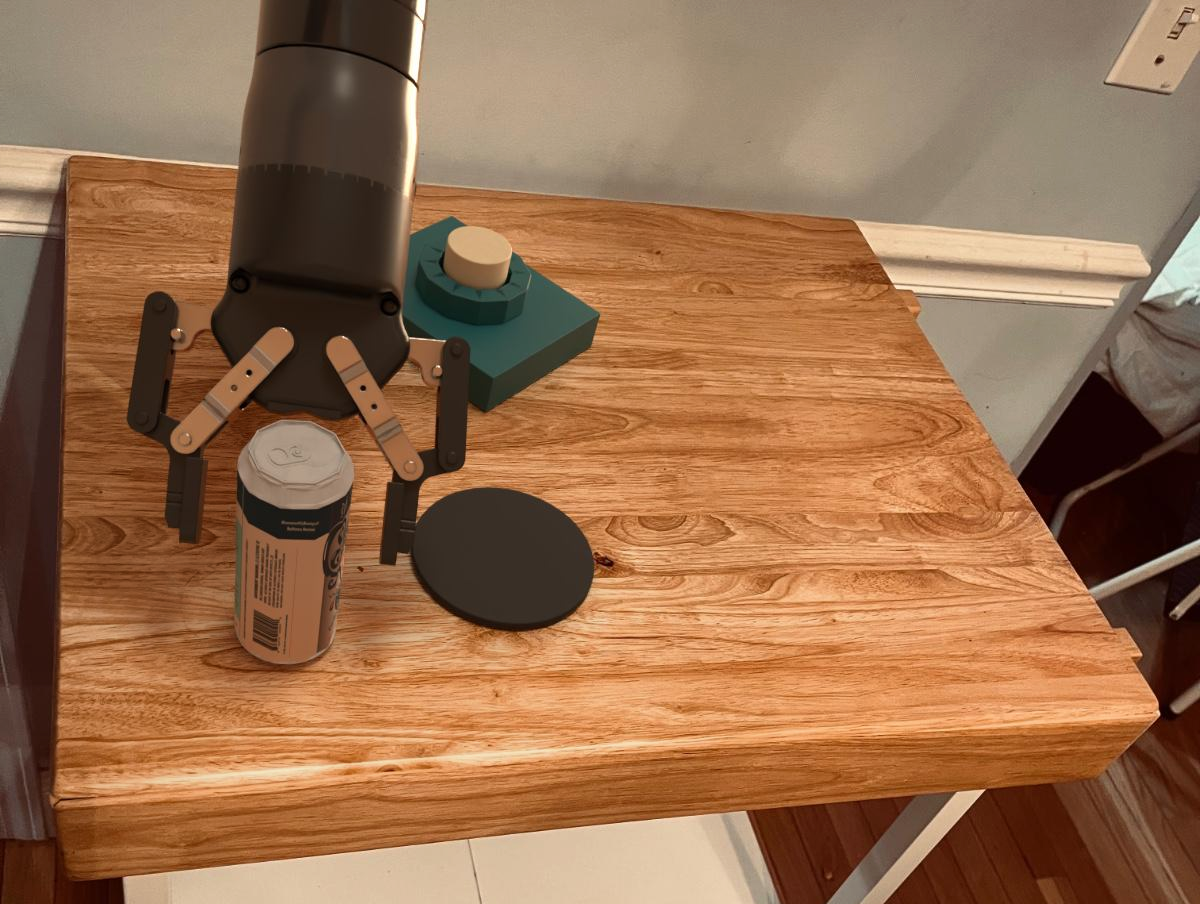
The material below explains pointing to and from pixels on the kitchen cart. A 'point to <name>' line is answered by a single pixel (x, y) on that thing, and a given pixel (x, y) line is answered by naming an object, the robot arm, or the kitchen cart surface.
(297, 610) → the beer can
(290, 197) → the robot arm
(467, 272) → the button
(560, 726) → the kitchen cart surface
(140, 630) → the kitchen cart surface
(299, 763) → the kitchen cart surface
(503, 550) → the coaster
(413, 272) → the push button base
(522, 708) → the kitchen cart surface
